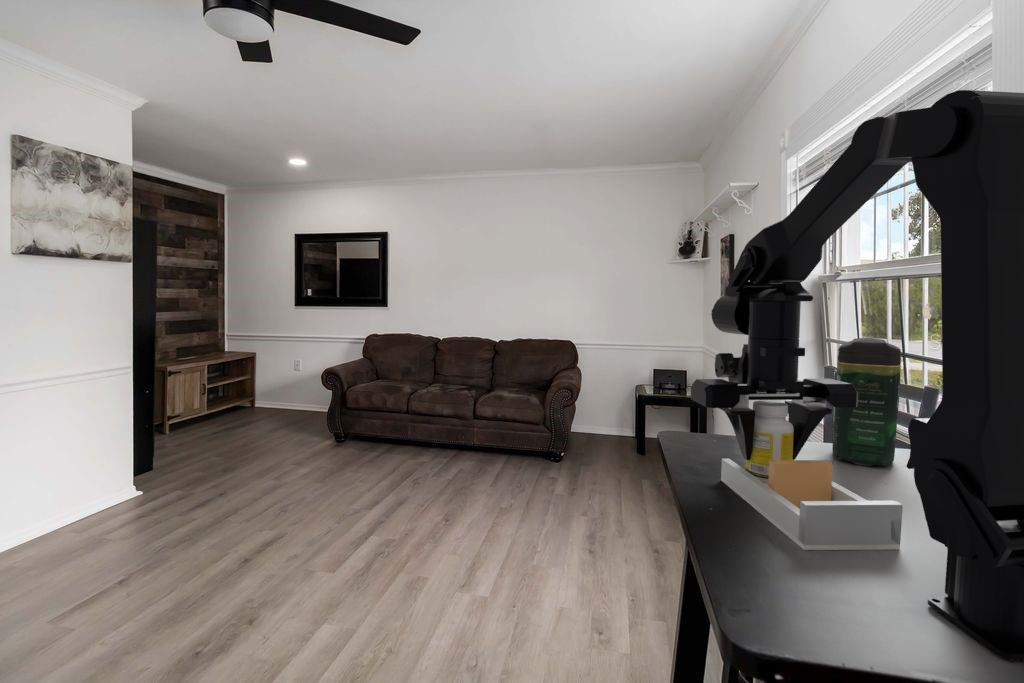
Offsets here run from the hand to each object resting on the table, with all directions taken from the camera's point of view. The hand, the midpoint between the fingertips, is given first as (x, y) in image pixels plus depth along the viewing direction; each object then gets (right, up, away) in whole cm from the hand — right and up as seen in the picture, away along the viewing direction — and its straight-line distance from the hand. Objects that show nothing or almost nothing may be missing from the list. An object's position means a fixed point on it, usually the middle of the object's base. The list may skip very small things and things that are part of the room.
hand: (768, 459), depth 64 cm
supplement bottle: (0, -3, 0) cm, 3 cm away
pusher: (0, -4, -6) cm, 7 cm away
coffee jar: (+21, -3, +13) cm, 25 cm away
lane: (0, -4, -6) cm, 7 cm away
